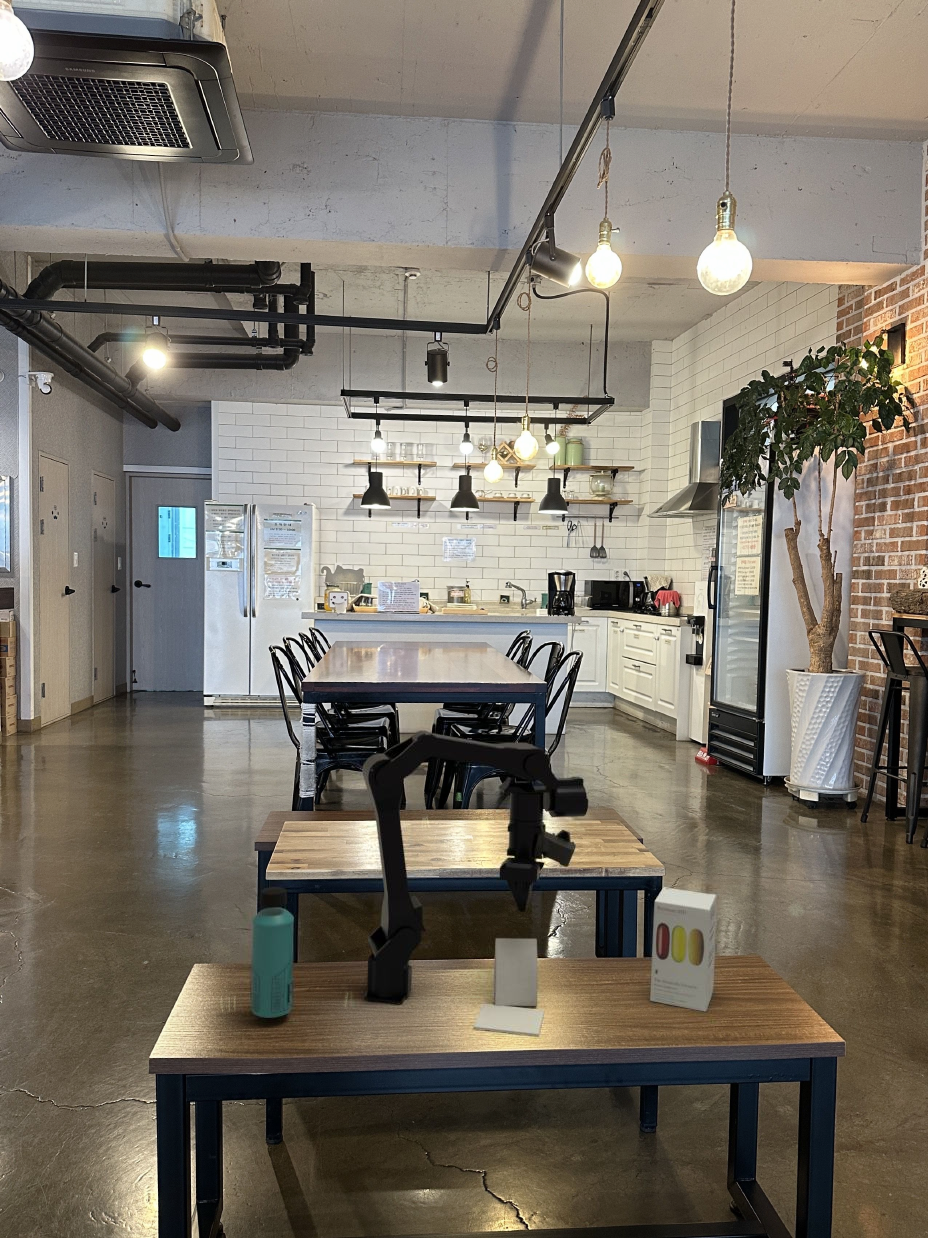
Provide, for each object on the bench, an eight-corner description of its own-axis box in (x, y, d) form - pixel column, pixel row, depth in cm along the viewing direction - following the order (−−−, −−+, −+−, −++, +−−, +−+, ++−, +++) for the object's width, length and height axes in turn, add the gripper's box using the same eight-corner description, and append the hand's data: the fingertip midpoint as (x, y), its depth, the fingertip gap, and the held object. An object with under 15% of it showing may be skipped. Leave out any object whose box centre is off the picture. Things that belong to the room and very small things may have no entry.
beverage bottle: (292, 1027, 138) (296, 895, 138) (247, 1029, 137) (251, 896, 137) (293, 1008, 145) (296, 882, 144) (250, 1010, 143) (253, 883, 143)
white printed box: (537, 1006, 147) (538, 941, 148) (495, 1005, 147) (496, 941, 148) (534, 999, 151) (535, 936, 152) (493, 999, 150) (494, 936, 152)
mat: (473, 1029, 139) (473, 1026, 139) (482, 1006, 148) (482, 1003, 148) (538, 1037, 137) (538, 1034, 137) (544, 1013, 146) (544, 1010, 146)
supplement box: (648, 1002, 151) (651, 900, 151) (658, 981, 160) (661, 885, 160) (708, 1013, 147) (711, 909, 147) (714, 991, 156) (717, 893, 156)
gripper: (569, 834, 146) (566, 931, 146) (576, 810, 164) (574, 896, 164) (500, 829, 148) (497, 925, 148) (515, 806, 166) (512, 891, 166)
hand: (523, 908), depth 157 cm, fingers open, 3 cm apart
